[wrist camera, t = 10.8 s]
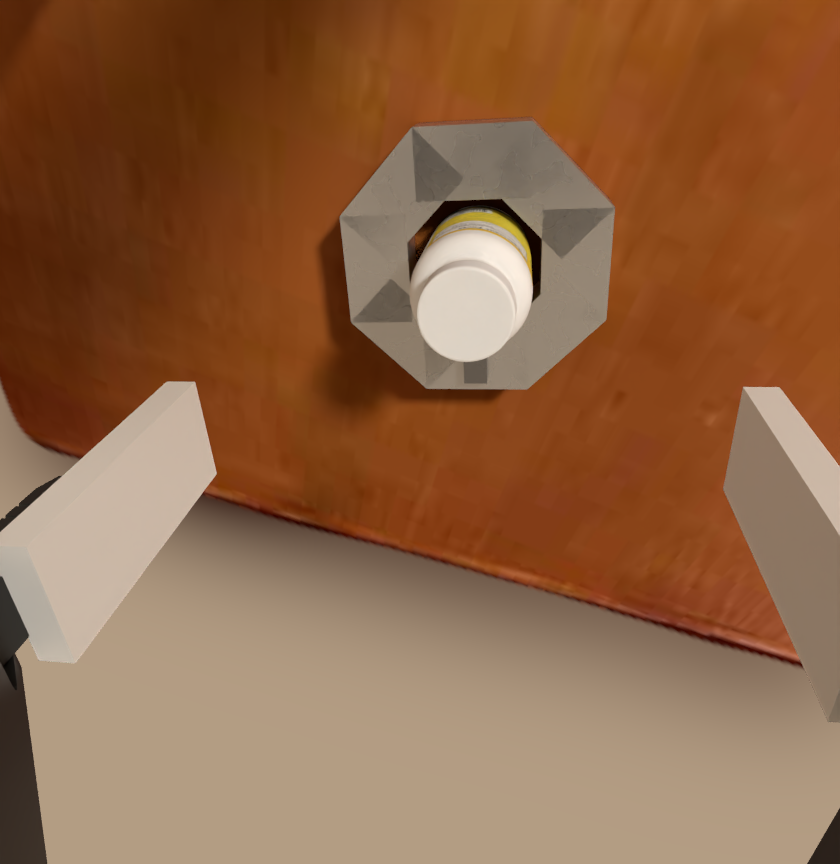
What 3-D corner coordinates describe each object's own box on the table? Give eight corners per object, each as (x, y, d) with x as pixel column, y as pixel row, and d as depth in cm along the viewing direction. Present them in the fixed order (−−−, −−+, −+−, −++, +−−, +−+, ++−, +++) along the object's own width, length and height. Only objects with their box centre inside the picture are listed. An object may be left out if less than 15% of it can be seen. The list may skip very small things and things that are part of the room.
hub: (342, 126, 33) (326, 132, 30) (615, 112, 31) (623, 117, 28) (367, 370, 39) (355, 393, 37) (596, 370, 37) (601, 394, 35)
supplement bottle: (490, 326, 37) (478, 403, 28) (409, 268, 36) (371, 329, 27) (554, 244, 34) (561, 302, 26) (468, 180, 34) (446, 218, 25)
